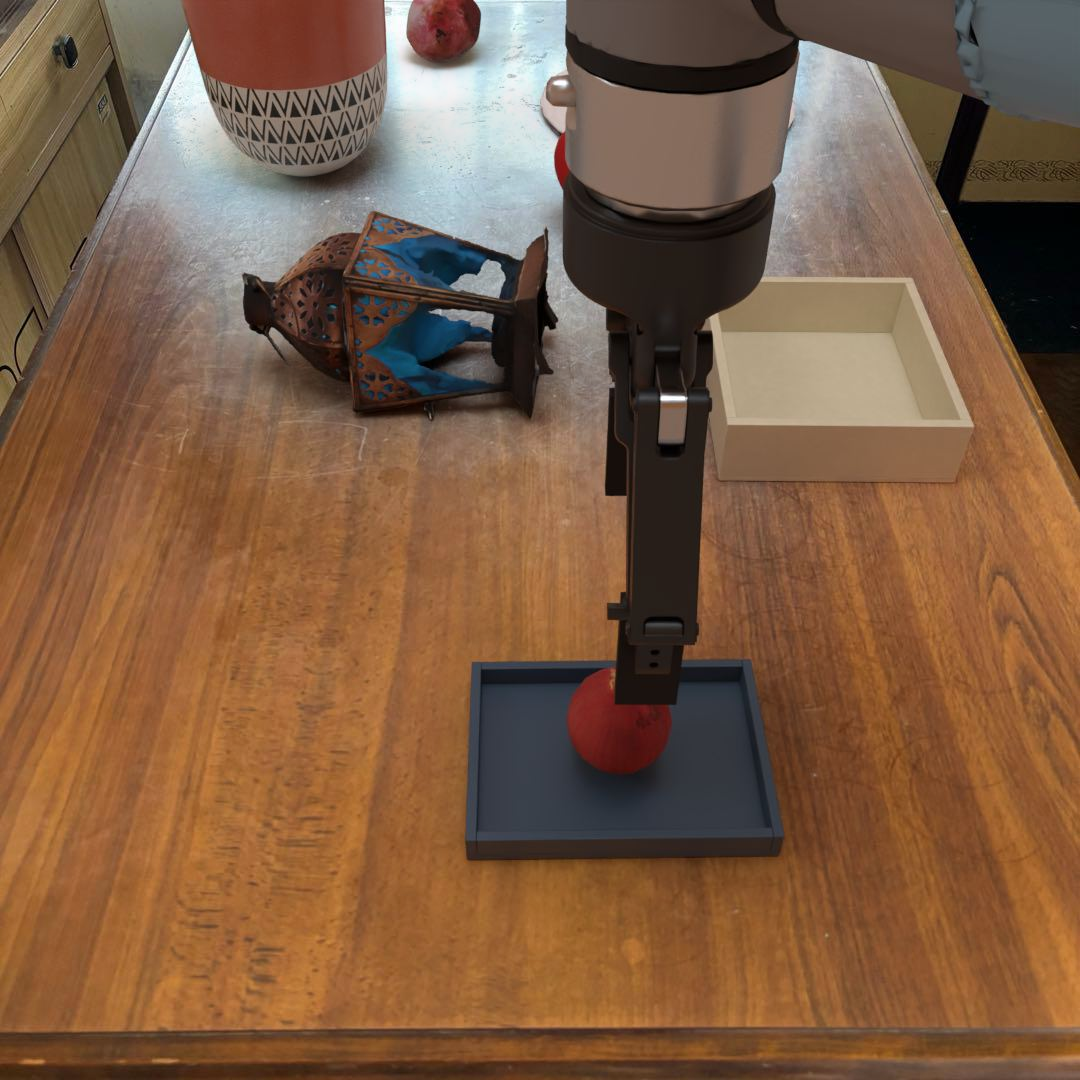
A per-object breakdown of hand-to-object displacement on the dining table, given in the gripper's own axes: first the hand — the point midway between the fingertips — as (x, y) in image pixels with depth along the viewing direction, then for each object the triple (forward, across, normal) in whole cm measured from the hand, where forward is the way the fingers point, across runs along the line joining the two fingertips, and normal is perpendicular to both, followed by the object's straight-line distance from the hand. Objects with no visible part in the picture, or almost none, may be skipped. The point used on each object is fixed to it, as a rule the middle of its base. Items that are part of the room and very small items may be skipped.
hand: (637, 586), depth 54 cm
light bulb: (+15, -62, 0) cm, 63 cm away
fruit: (+15, -104, -18) cm, 106 cm away
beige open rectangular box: (+16, -35, +17) cm, 42 cm away
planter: (+15, -75, -30) cm, 82 cm away
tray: (+16, 0, 0) cm, 16 cm away
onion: (+15, 0, 0) cm, 15 cm away
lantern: (+15, -38, -16) cm, 44 cm away
